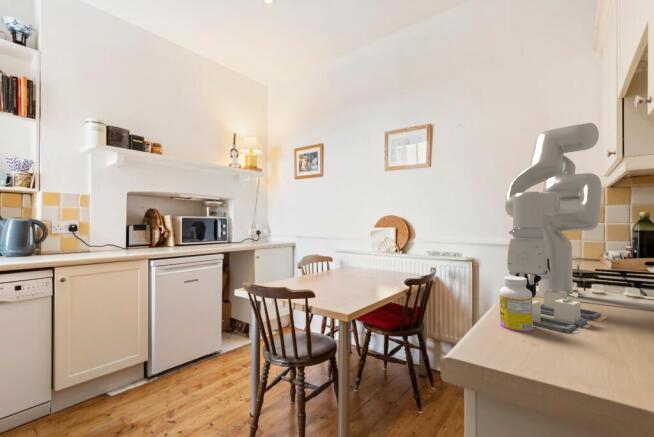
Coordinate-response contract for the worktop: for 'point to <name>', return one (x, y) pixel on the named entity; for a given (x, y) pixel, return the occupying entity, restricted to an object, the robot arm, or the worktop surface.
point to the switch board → (568, 325)
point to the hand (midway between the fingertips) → (529, 297)
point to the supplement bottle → (516, 305)
